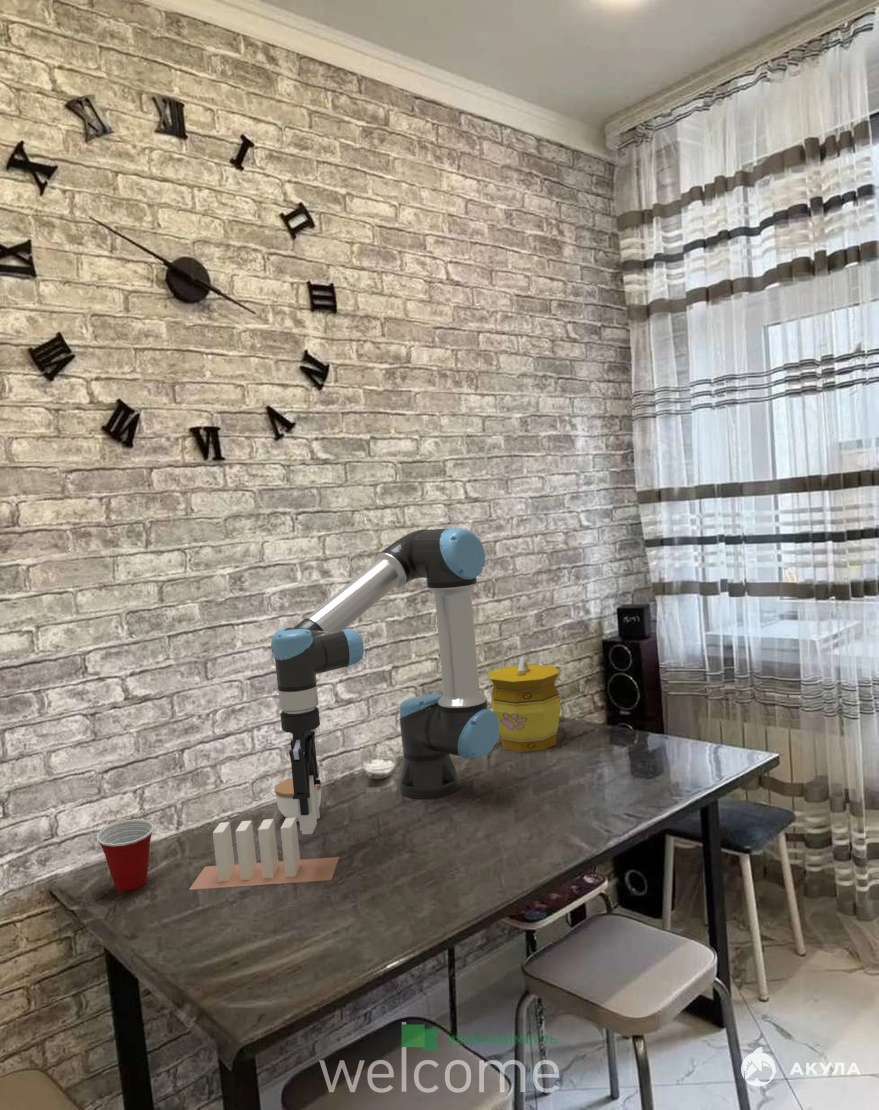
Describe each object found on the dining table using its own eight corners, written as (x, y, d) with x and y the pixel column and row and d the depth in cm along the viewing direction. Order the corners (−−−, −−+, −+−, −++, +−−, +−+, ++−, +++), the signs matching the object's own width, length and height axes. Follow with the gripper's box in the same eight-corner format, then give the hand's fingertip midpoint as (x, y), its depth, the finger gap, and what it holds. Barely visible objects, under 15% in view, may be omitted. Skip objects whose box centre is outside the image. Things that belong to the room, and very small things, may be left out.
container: (572, 733, 243) (566, 648, 241) (556, 756, 223) (549, 665, 221) (503, 731, 250) (497, 649, 249) (482, 754, 231) (474, 665, 229)
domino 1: (235, 869, 169) (229, 822, 168) (228, 881, 164) (222, 832, 163) (225, 870, 169) (220, 822, 168) (218, 881, 164) (212, 832, 163)
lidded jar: (268, 823, 194) (264, 784, 193) (296, 806, 203) (293, 768, 203) (305, 828, 189) (301, 788, 188) (332, 810, 198) (328, 772, 198)
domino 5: (316, 823, 168) (313, 775, 167) (312, 833, 163) (308, 784, 162) (307, 824, 168) (303, 775, 167) (302, 834, 163) (298, 784, 162)
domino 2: (256, 868, 169) (251, 820, 168) (250, 879, 164) (245, 830, 163) (247, 868, 169) (242, 821, 168) (240, 880, 164) (235, 831, 163)
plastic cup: (113, 906, 159) (106, 846, 158) (95, 888, 167) (88, 831, 166) (168, 886, 166) (162, 827, 165) (149, 869, 174) (142, 814, 173)
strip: (339, 859, 171) (339, 857, 171) (331, 882, 161) (331, 879, 161) (205, 869, 172) (205, 866, 172) (189, 892, 162) (189, 889, 162)
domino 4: (300, 865, 168) (295, 817, 168) (295, 876, 164) (290, 827, 163) (290, 865, 169) (286, 818, 168) (285, 877, 164) (280, 828, 163)
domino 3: (278, 866, 169) (273, 818, 168) (273, 878, 164) (267, 828, 163) (269, 867, 169) (264, 819, 168) (263, 878, 164) (257, 829, 163)
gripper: (290, 698, 173) (300, 807, 174) (269, 722, 155) (281, 844, 156) (325, 696, 172) (336, 805, 174) (309, 719, 154) (321, 841, 156)
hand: (310, 823), depth 165 cm, fingers closed on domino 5, 5 cm apart
